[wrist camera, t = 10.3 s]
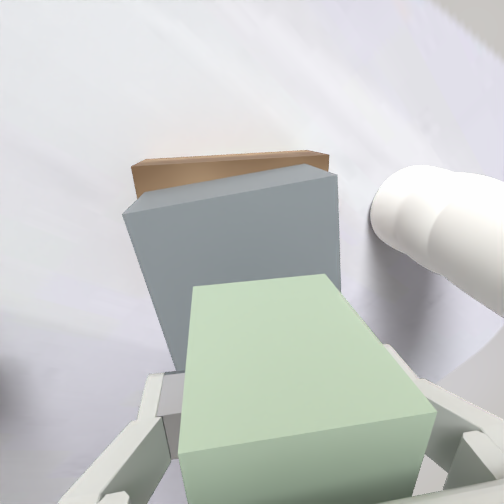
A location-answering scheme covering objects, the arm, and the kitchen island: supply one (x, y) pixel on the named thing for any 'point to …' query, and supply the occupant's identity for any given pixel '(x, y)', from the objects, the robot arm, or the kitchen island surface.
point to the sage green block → (294, 400)
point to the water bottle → (447, 227)
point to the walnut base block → (216, 167)
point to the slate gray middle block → (232, 237)
